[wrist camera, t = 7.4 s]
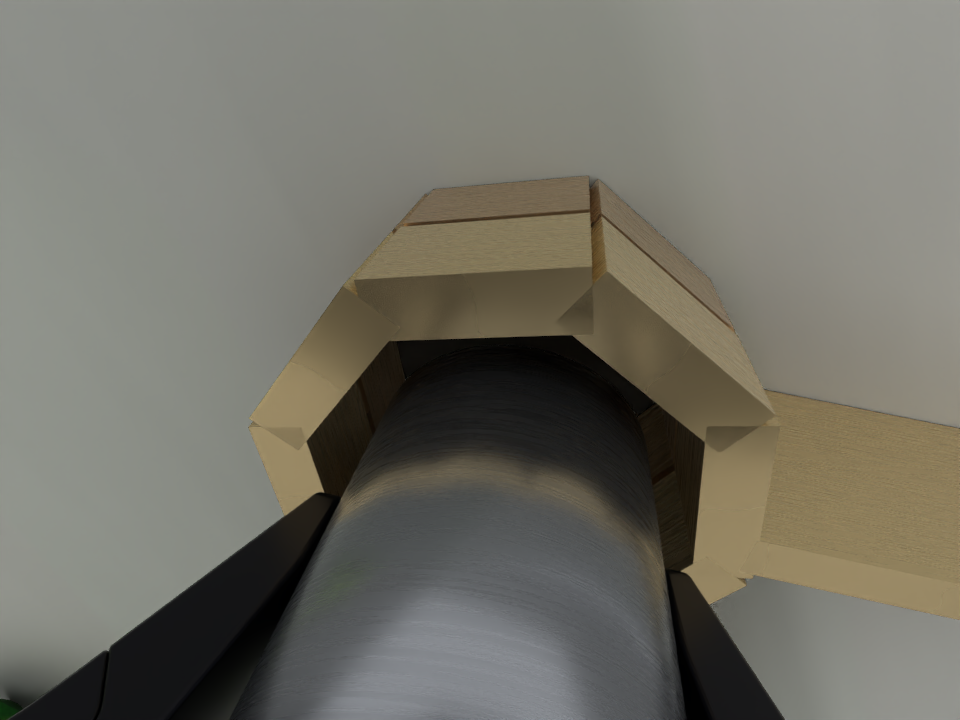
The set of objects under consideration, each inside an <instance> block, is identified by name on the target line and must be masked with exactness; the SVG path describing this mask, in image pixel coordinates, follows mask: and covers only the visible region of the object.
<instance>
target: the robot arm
mask: <svg viewBox="0 0 960 720" xmlns="http://www.w3.org/2000/svg"><path fill="white" fill-rule="evenodd" d="M340 500H341V497H340V496H337V495H332V494H328V493H323V492H318V493H315V494H313V495H312V496H311V497H309V498H308V499H307V500H305V501H304V502H303V503H301V504H300V505H299V506H297V507H296V508H295V509H293V510H292V511H291V512H289V513H288V514H287V515H285V516H284V517H283V518H281V519H280V520H279V521H277V522H276V523H275V524H273V525H272V526H271V527H269V528H268V529H267V530H265V531H264V532H262V533H261V534H260V535H258V536H257V537H256V538H254V539H253V540H252V541H250V542H249V543H248V544H246V545H245V546H244V547H242V548H241V549H240V550H238V551H237V552H236V553H234V554H233V555H232V556H230V557H229V558H228V559H226V560H225V561H224V562H222V563H221V564H220V565H218V566H217V567H216V568H214V569H213V570H212V571H210V572H209V573H208V574H206V575H205V576H204V577H202V578H201V579H200V580H198V581H197V582H196V583H194V584H193V585H192V586H190V587H189V588H188V589H186V590H185V591H183V592H182V593H181V594H179V595H178V596H177V597H175V598H174V599H173V600H171V601H170V602H169V603H167V604H166V605H165V606H163V607H162V608H161V609H159V610H158V611H157V612H155V613H154V614H153V615H151V616H150V617H149V618H147V619H146V620H145V621H143V622H142V623H141V624H139V625H138V626H137V627H135V628H134V629H133V630H131V631H130V632H129V633H127V634H126V635H125V636H123V637H122V638H121V639H119V640H118V641H117V642H115V643H114V644H113V645H111V646H110V648H109V652H108V651H106V650H105V651H103V652H101V653H100V654H99V655H97V656H96V657H95V658H93V659H92V660H91V661H89V662H88V663H87V664H85V665H84V666H83V667H81V668H80V669H79V670H77V671H76V672H75V673H73V674H72V675H70V676H69V677H68V678H66V679H65V680H63V681H62V682H61V683H59V684H58V685H56V686H55V687H54V688H52V689H51V690H50V691H48V692H47V693H45V694H44V695H43V696H41V697H40V698H38V699H37V700H36V701H34V702H33V703H31V704H30V705H28V706H27V707H25V708H24V709H22V710H21V711H19V712H18V713H16V714H15V715H13V716H12V717H10V718H9V719H7V720H229V719H230V717H231V715H232V713H233V711H234V709H235V707H236V705H237V703H238V701H239V699H240V697H241V695H242V693H243V691H244V689H245V687H246V685H247V683H248V681H249V679H250V677H251V675H252V673H253V671H254V669H255V667H256V665H257V663H258V662H259V660H260V658H261V656H262V654H263V652H264V650H265V648H266V646H267V644H268V642H269V640H270V638H271V636H272V634H273V632H274V630H275V628H276V626H277V624H278V622H279V620H280V618H281V616H282V614H283V612H284V610H285V608H286V606H287V604H288V602H289V600H290V598H291V596H292V594H293V593H294V591H295V589H296V587H297V585H298V583H299V581H300V579H301V577H302V575H303V573H304V571H305V569H306V567H307V565H308V563H309V561H310V559H311V557H312V555H313V553H314V551H315V549H316V547H317V545H318V543H319V541H320V539H321V537H322V535H323V533H324V531H325V529H326V527H327V525H328V524H329V522H330V520H331V518H332V516H333V514H334V512H335V510H336V508H337V506H338V504H339V502H340ZM665 574H666V581H667V588H668V595H669V602H670V608H671V615H672V622H673V629H674V636H675V642H676V649H677V656H678V663H679V670H680V677H681V683H682V690H683V697H684V704H685V711H686V717H687V720H785V719H784V717H783V716H782V714H781V713H780V711H779V710H778V708H777V707H776V705H775V704H774V702H773V701H772V699H771V698H770V696H769V695H768V693H767V692H766V690H765V689H764V687H763V686H762V684H761V683H760V681H759V680H758V678H757V676H756V675H755V673H754V672H753V670H752V669H751V667H750V666H749V664H748V663H747V661H746V660H745V658H744V657H743V655H742V654H741V652H740V651H739V649H738V648H737V646H736V645H735V643H734V642H733V640H732V639H731V637H730V636H729V634H728V633H727V631H726V630H725V628H724V626H723V625H722V623H721V622H720V620H719V619H718V617H717V616H716V614H715V613H714V611H713V610H712V608H711V607H710V605H709V604H708V602H707V601H706V599H705V598H704V596H703V595H702V593H701V592H700V590H699V589H698V587H697V586H696V584H695V583H694V581H693V580H692V578H691V577H690V576H689V575H688V574H687V573H684V572H681V571H676V570H672V569H667V568H665Z"/></svg>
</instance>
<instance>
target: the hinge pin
mask: <svg viewBox="0 0 960 720" xmlns="http://www.w3.org/2000/svg"><path fill="white" fill-rule="evenodd" d="M229 720H687V717H686V711H685V704H684V697H683V690H682V683H681V677H680V670H679V663H678V656H677V649H676V642H675V636H674V629H673V622H672V615H671V608H670V602H669V595H668V588H667V581H666V574H665V567H664V561H663V554H662V547H661V540H660V533H659V527H658V520H657V513H656V506H655V499H654V492H653V486H652V479H651V472H650V465H649V458H648V452H647V446H646V441H645V437H644V433H643V430H642V428H641V426H640V423H639V421H638V419H637V417H636V415H635V414H634V412H633V410H632V409H631V407H630V405H629V404H628V403H627V402H626V400H625V399H624V398H623V397H622V396H621V394H620V393H619V392H618V391H617V390H616V389H615V388H614V387H612V386H611V385H610V384H609V383H608V382H607V381H606V380H605V379H603V378H602V377H600V376H599V375H598V374H596V373H595V372H593V371H592V370H590V369H589V368H587V367H585V366H583V365H581V364H579V363H577V362H575V361H574V360H571V359H569V358H566V357H564V356H561V355H558V354H556V353H553V352H549V351H545V350H541V349H537V348H532V347H525V346H518V345H485V346H475V347H471V348H466V349H461V350H457V351H454V352H452V353H449V354H446V355H443V356H441V357H439V358H437V359H435V360H433V361H431V362H429V363H427V364H425V365H424V366H423V367H421V368H420V369H418V370H417V371H415V372H414V373H413V374H412V375H411V376H410V377H409V378H408V379H407V380H406V381H404V382H403V384H402V385H401V386H400V387H399V389H398V390H397V391H396V393H395V394H394V396H393V398H392V400H391V401H390V403H389V405H388V407H387V409H386V411H385V413H384V415H383V417H382V419H381V421H380V423H379V425H378V427H377V429H376V431H375V433H374V435H373V437H372V439H371V441H370V443H369V445H368V447H367V449H366V451H365V453H364V455H363V456H362V458H361V460H360V462H359V464H358V466H357V468H356V470H355V472H354V474H353V476H352V478H351V480H350V482H349V484H348V486H347V488H346V490H345V492H344V494H343V496H342V498H341V500H340V502H339V504H338V506H337V508H336V510H335V512H334V514H333V516H332V518H331V520H330V522H329V524H328V525H327V527H326V529H325V531H324V533H323V535H322V537H321V539H320V541H319V543H318V545H317V547H316V549H315V551H314V553H313V555H312V557H311V559H310V561H309V563H308V565H307V567H306V569H305V571H304V573H303V575H302V577H301V579H300V581H299V583H298V585H297V587H296V589H295V591H294V593H293V594H292V596H291V598H290V600H289V602H288V604H287V606H286V608H285V610H284V612H283V614H282V616H281V618H280V620H279V622H278V624H277V626H276V628H275V630H274V632H273V634H272V636H271V638H270V640H269V642H268V644H267V646H266V648H265V650H264V652H263V654H262V656H261V658H260V660H259V662H258V663H257V665H256V667H255V669H254V671H253V673H252V675H251V677H250V679H249V681H248V683H247V685H246V687H245V689H244V691H243V693H242V695H241V697H240V699H239V701H238V703H237V705H236V707H235V709H234V711H233V713H232V715H231V717H230V719H229Z"/></svg>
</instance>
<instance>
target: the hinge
mask: <svg viewBox="0 0 960 720" xmlns="http://www.w3.org/2000/svg"><path fill="white" fill-rule="evenodd" d="M554 335H572V336H573V337H575V338H576V339H577V340H578V341H580V342H581V343H582V344H583V345H585V346H586V347H587V348H588V349H590V350H591V351H592V352H593V353H595V354H596V355H597V356H598V357H600V358H601V359H602V360H603V361H605V362H606V363H607V364H608V365H610V366H611V367H612V368H613V369H615V370H616V371H617V372H618V373H619V374H621V375H622V376H623V377H624V378H626V379H627V380H628V381H629V382H631V383H632V384H633V385H634V386H636V387H637V388H638V389H639V390H641V391H642V392H643V393H644V394H646V395H647V396H648V397H649V398H651V399H652V400H653V401H654V402H656V403H655V404H654V405H652V406H651V407H650V408H648V409H647V410H646V411H644V412H643V413H642V414H641V415H639V416H638V417H637V419H638V421H639V423H640V426H641V428H642V430H643V433H644V437H645V441H646V446H647V452H648V458H649V465H650V472H651V479H652V486H653V492H654V499H655V506H656V513H657V520H658V527H659V533H660V540H661V547H662V554H663V561H664V567H665V568H667V569H672V570H676V571H681V572H684V573H687V574H688V575H689V576H690V577H691V578H692V580H693V581H694V583H695V584H696V586H697V587H698V589H699V590H700V592H701V593H702V595H703V596H704V598H705V599H706V601H707V602H708V604H709V605H710V604H711V603H713V602H715V601H717V600H719V599H721V598H723V597H725V596H727V595H729V594H731V593H733V592H735V591H737V590H739V589H741V588H743V587H745V586H747V585H746V581H745V578H750V579H753V575H756V576H761V577H765V578H770V579H775V580H779V581H784V582H788V583H793V584H797V585H802V586H807V587H811V588H816V589H820V590H825V591H829V592H834V593H839V594H843V595H848V596H852V597H857V598H861V599H866V600H871V601H875V602H880V603H884V604H889V605H893V606H898V607H903V608H907V609H912V610H916V611H921V612H925V613H930V614H935V615H939V616H944V617H948V618H953V619H957V620H960V429H958V428H953V427H948V426H943V425H938V424H933V423H928V422H923V421H918V420H913V419H908V418H903V417H898V416H893V415H888V414H883V413H878V412H873V411H868V410H863V409H858V408H853V407H848V406H843V405H838V404H833V403H828V402H823V401H818V400H813V399H808V398H803V397H798V396H793V395H788V394H783V393H778V392H773V391H768V390H764V389H763V387H762V385H761V383H760V381H759V379H758V377H757V375H756V373H755V371H754V369H753V367H752V365H751V362H750V360H749V358H748V356H747V354H746V352H745V350H744V348H743V346H742V344H741V342H740V340H739V338H738V336H737V335H736V334H735V331H734V328H733V326H732V324H731V322H730V319H729V317H728V315H727V313H726V311H725V309H724V307H723V305H722V303H721V301H720V299H719V297H718V295H717V293H716V291H715V289H714V287H713V285H712V283H711V281H710V279H709V278H708V277H707V276H706V275H705V274H704V273H703V272H702V271H700V270H699V269H698V268H697V267H696V266H695V265H694V264H693V263H692V262H690V261H689V260H688V259H687V258H686V257H685V256H684V255H683V254H682V253H680V252H679V251H678V250H677V249H676V248H675V247H674V246H673V245H671V244H670V243H669V242H668V241H667V240H666V239H665V238H664V237H663V236H661V235H660V234H659V233H658V232H657V231H656V230H655V229H654V228H653V227H651V226H650V225H649V224H648V223H647V222H646V221H645V220H644V219H642V218H641V217H640V216H639V215H638V214H637V213H636V212H635V211H634V210H632V209H631V208H630V207H629V206H628V205H627V204H626V203H625V202H624V201H622V200H621V199H620V198H619V197H618V196H617V195H616V194H615V193H613V192H612V191H611V190H610V189H609V188H608V187H607V186H606V185H605V184H603V183H602V182H601V181H600V180H599V179H598V180H597V181H596V182H595V183H594V184H593V185H592V186H591V187H590V188H589V176H580V177H569V178H557V179H546V180H534V181H523V182H512V183H500V184H489V185H477V186H466V187H455V188H443V189H433V191H432V192H431V193H430V194H429V195H427V194H425V195H424V196H423V197H422V198H421V200H420V201H419V202H418V203H417V204H416V205H415V206H414V207H413V208H412V210H411V211H410V212H409V213H408V214H407V215H406V216H405V217H404V218H403V220H402V221H401V222H400V223H399V224H398V225H397V226H396V227H395V228H394V230H393V231H392V232H391V233H390V234H389V235H388V236H387V237H386V238H385V239H384V241H383V242H382V243H381V244H380V245H379V246H378V247H377V248H376V249H375V251H374V252H373V253H372V254H371V255H370V256H369V257H368V258H367V259H366V261H365V262H364V263H363V264H362V265H361V266H360V267H359V268H358V269H357V271H356V272H355V273H354V274H353V275H352V276H351V277H350V278H349V279H348V281H347V282H346V283H345V284H344V285H343V286H342V288H341V289H340V290H339V292H338V293H337V295H336V296H335V297H334V299H333V300H332V302H331V303H330V305H329V306H328V307H327V309H326V310H325V312H324V313H323V314H322V316H321V317H320V319H319V320H318V322H317V323H316V324H315V326H314V327H313V329H312V330H311V331H310V333H309V334H308V336H307V337H306V338H305V340H304V341H303V343H302V344H301V346H300V347H299V348H298V350H297V351H296V353H295V354H294V355H293V357H292V358H291V360H290V361H289V363H288V364H287V365H286V367H285V368H284V370H283V371H282V372H281V374H280V375H279V377H278V378H277V379H276V381H275V382H274V384H273V385H272V387H271V388H270V389H269V391H268V392H267V394H266V395H265V396H264V398H263V399H262V401H261V402H260V404H259V405H258V406H257V408H256V409H255V411H254V412H253V413H252V415H251V416H250V418H249V419H250V420H252V421H253V422H252V423H251V425H250V426H249V427H248V428H249V430H250V432H251V435H252V437H253V440H254V442H255V445H256V447H257V450H258V452H259V454H260V457H261V459H262V462H263V464H264V467H265V469H266V472H267V474H268V476H269V479H270V481H271V484H272V486H273V489H274V491H275V494H276V496H277V498H278V501H279V503H280V506H281V508H282V511H283V513H284V516H285V515H287V514H288V513H289V512H291V511H292V510H293V509H295V508H296V507H297V506H299V505H300V504H301V503H303V502H304V501H305V500H307V499H308V498H309V497H311V496H312V495H313V494H315V493H318V492H323V493H328V494H332V495H337V496H340V497H341V498H342V496H343V494H344V492H345V490H346V488H347V486H348V484H349V482H350V480H351V478H352V476H353V474H354V472H355V470H356V468H357V466H358V464H359V462H360V460H361V458H362V456H363V455H364V453H365V451H366V449H367V447H368V445H369V443H370V441H371V439H372V437H373V435H374V433H375V431H376V429H377V427H378V425H379V423H380V421H381V419H382V417H383V415H384V413H385V411H386V409H387V407H388V405H389V403H390V401H391V400H392V398H393V396H394V394H395V393H396V391H397V390H398V389H399V387H400V386H401V385H402V384H403V382H404V381H405V377H404V373H403V368H402V364H401V359H400V355H399V350H398V346H397V341H406V340H436V339H465V338H495V337H525V336H554Z"/></svg>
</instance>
